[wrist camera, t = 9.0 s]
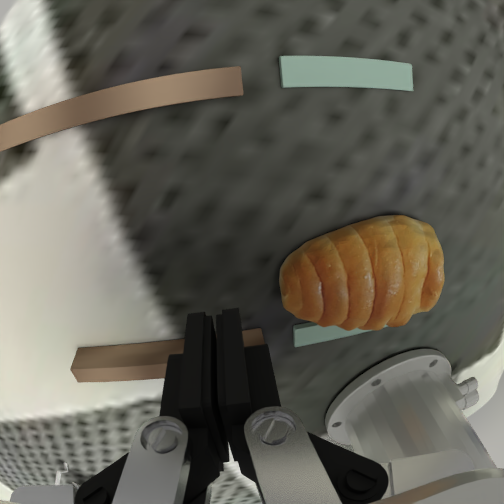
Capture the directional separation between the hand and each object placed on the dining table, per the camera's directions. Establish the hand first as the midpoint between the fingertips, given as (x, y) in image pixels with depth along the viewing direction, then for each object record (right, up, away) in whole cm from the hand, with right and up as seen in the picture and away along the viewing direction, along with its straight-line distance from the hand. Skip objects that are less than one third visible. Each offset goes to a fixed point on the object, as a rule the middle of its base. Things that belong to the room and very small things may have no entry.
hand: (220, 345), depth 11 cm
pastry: (+8, +2, +8) cm, 12 cm away
